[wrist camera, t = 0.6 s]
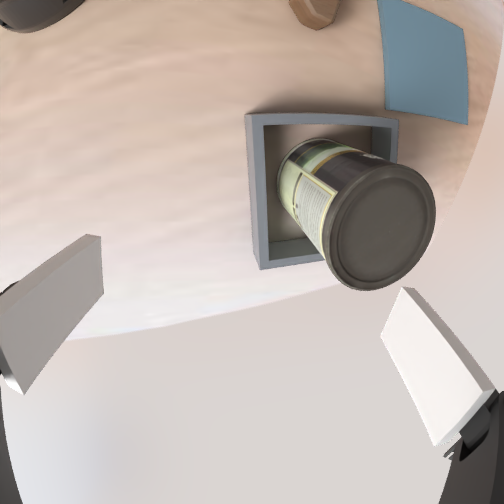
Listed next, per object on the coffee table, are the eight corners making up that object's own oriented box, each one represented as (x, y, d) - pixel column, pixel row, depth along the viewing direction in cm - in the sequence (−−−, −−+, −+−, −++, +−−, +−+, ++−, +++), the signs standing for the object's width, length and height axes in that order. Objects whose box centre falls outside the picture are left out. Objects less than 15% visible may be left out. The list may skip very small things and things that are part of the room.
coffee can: (310, 119, 28) (388, 134, 15) (371, 171, 32) (452, 215, 20) (256, 195, 31) (297, 259, 19) (323, 237, 35) (381, 307, 23)
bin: (244, 114, 26) (251, 115, 23) (378, 116, 28) (398, 119, 25) (253, 252, 34) (260, 270, 31) (369, 236, 36) (385, 250, 33)
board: (376, -5, 20) (380, -7, 19) (458, 29, 22) (462, 29, 21) (385, 109, 28) (390, 109, 27) (463, 123, 30) (467, 125, 29)
